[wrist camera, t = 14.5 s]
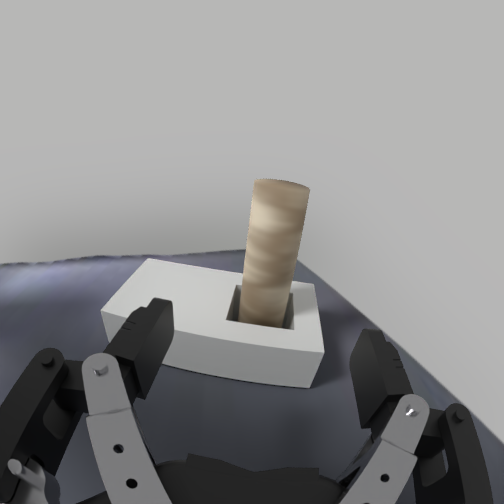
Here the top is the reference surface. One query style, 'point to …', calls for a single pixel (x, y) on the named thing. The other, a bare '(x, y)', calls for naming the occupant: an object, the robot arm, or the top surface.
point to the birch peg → (271, 250)
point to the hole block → (224, 325)
